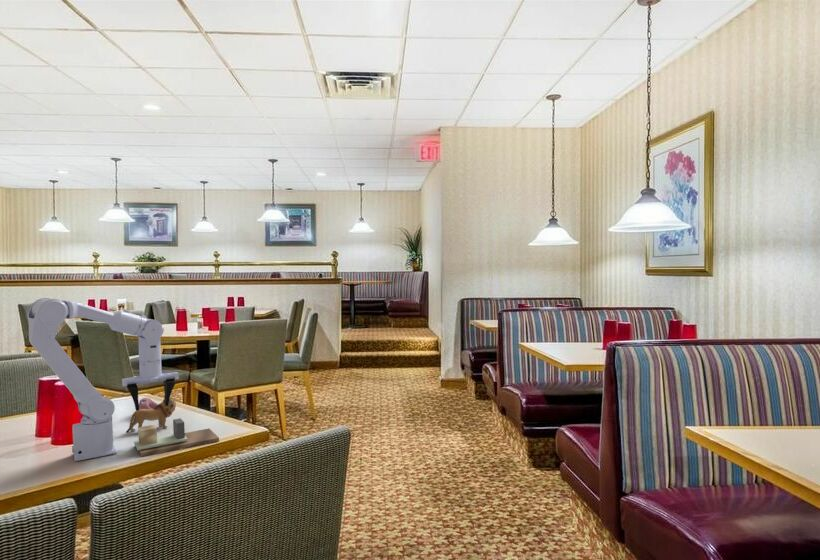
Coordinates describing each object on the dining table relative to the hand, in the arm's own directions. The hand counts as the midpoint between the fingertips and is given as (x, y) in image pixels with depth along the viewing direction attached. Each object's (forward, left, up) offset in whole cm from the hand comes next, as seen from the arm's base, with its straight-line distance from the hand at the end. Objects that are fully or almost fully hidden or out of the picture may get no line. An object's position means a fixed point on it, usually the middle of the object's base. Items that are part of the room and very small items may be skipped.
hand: (152, 407), depth 154 cm
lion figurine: (+2, +12, -10) cm, 16 cm away
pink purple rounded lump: (+4, +31, -10) cm, 32 cm away
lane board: (+5, -8, -9) cm, 13 cm away
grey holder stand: (+1, -8, -8) cm, 11 cm away
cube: (-2, -8, -8) cm, 11 cm away
